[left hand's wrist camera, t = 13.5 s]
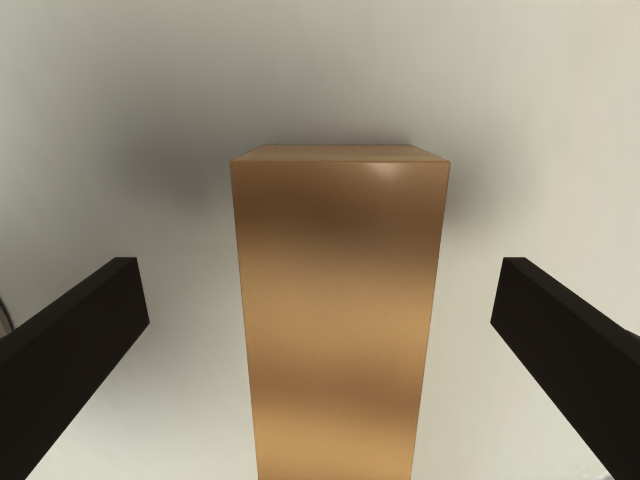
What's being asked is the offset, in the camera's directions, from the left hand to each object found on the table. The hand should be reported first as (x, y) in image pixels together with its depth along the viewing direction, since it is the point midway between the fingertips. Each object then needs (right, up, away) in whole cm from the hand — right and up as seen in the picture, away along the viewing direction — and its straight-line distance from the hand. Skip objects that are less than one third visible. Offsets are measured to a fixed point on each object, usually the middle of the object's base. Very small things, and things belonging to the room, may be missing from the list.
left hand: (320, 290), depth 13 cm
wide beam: (+1, -22, +18) cm, 28 cm away
